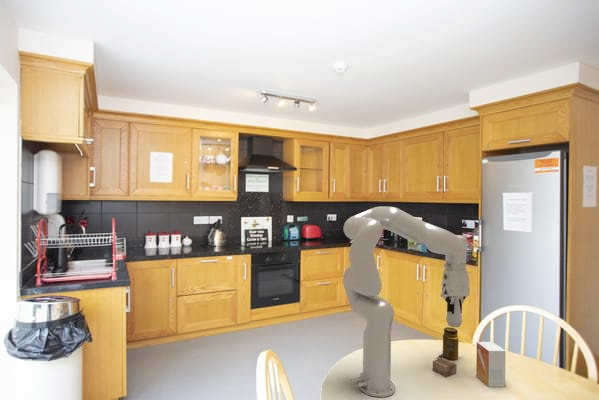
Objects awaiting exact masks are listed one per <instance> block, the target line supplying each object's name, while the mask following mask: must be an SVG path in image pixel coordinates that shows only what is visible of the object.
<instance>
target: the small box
mask: <svg viewBox="0 0 599 400" xmlns="http://www.w3.org/2000/svg"><path fill="white" fill-rule="evenodd" d="M475 369H476V370H475V371H476V372H475V373H476V374H475V375H476V377H477V378H479V379H480V381H481V382H482V383H484V384H485V385H486V386H487V387H488V388H505V387H506V350H505V349H503V348H502V347H501V346H499V345H498V344H496V343H495V342H494V341H476V368H475Z"/></svg>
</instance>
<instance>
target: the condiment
mask: <svg viewBox="0 0 599 400" xmlns="http://www.w3.org/2000/svg"><path fill="white" fill-rule="evenodd" d="M458 335H459V334H458V329H457V328H455V327H451V326H449V327H444V328H443V334H442V353H441V354H440V355H438V356H437V357H436V358H437V359H440V358H445V359H447V360H449V361H451V362H453V363H455V364H457V362H460V360H461V359H462V358H463V357H461V356H460V355H459V336H458Z"/></svg>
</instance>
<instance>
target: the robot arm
mask: <svg viewBox="0 0 599 400" xmlns="http://www.w3.org/2000/svg"><path fill="white" fill-rule="evenodd" d="M343 224H344V225H343V233H344V235H345V236H346V237H347V238H348V239H350V240H352V243H351V246H350V248H349V251H348V260H349V264H350V265H349V266H348V267H346V269H345V270H344V272H343V276H342V284H343V287H344V291H345V294H346V296H347V301H348V303H349V306H350V309H351V311H352V312H353V313H354V314H355V315H356V316H357V317H359V318H360V319H362V320H364V321H366V325H365V328H364V330H363V335H362V372H360V373H359V376H358V377H355V378H354V377H353V378H350V380H349V381H350V385H351V386H355V385H357V388H358V389H359V390H360V391H361V392H362V393H364V394H366V395H369V396H371V397H375V398H386V397H390V396H391V395H393V394H394V393H395V391H396V386H395V383H394V382H393V381H392V380H391V379H392V378H391V377H392V376H391V375H392V374H391V369H392V368H391V367H392V366H391V362H392V361H391V360H392V359H391V357H392V354H391V353H392V348H391V347H392V343H391V342H392V329H393V322H394V318H395V310H394V307H393V306H392V304H391V303H390V302H389V301H388V300H387V299H385V298H383V297H380V296H379V294H381V292H382V287H383V285H382V284H383V283H382V280H381V277H380V276H381V275H380V273H379V270H378V267H377V263H376V260H375V259H376V258H375V249H376V245H377V244H378V242H379V241H380V239H381V237H382V234H383V230H387V231H390V232H392V233H394V234H396V235H398V236H400V237H402V238H403V239H406V240H408V241H410V242H412V243H415V244H421V245H425V246H426V248H427V250H428V251H429V252H431V253H434V254H439V255H444V256H445V262H444V264H443V267H444V269H443V274H442V280H441V293H440V295H439V296H440V297H441V299H444V301H445V303H446V312H447V313H448V312H452V314H454V304H453V301H454V297H460V296H461V298H460V299H459V303H460V309H461V315H462V314H463V304H464V301H465V300H466V298H468V297H469V296H470V276H469V272H468V270H467V248H468V242H467V241H468V239H467V237H466V236H465V235H460V234H454V233H453V232H451V231H449V230H447V229H444V228H442V227H439V226H436V225H433V224H431V223H428V222H426V221H423V220H421V219H418V218H417V217H414V216H413V215H411V214H409V213H407V212H406V211H404V210H401V209H400V208H399V207H395V206H375V207H372V208H369V209H367V210H364V211H362V212H360V213H357V214H355V215H353V216H350V217H349V218H348V219H346V221H345V222H344V223H343ZM449 297H450V298H449ZM447 313H446V314H447Z"/></svg>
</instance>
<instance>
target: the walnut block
mask: <svg viewBox="0 0 599 400" xmlns="http://www.w3.org/2000/svg"><path fill="white" fill-rule="evenodd" d="M432 372H434V373H436V374H438V375H440V376H441V377H443V378H448V377H451V376H452V377H453V376H455V375H457V363H453V362H451V361H449V360H447V359H445V358H440V359H438V358H437V359H434V360H432Z"/></svg>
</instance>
